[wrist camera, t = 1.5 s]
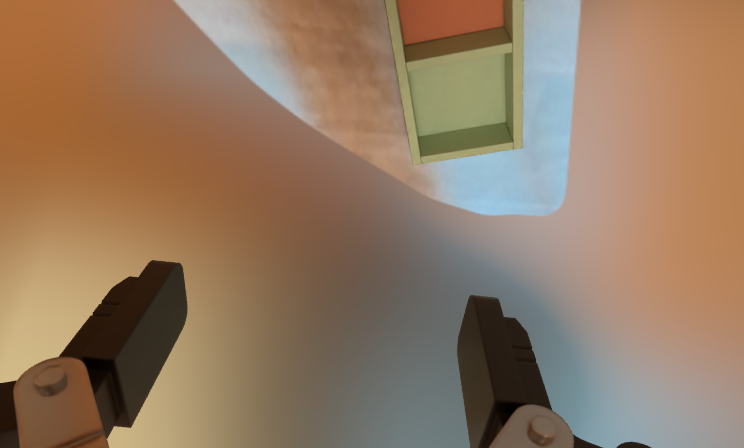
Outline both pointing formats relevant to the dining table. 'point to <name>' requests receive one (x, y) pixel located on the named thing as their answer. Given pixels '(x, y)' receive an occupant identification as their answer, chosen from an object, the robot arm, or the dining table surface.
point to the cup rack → (459, 75)
